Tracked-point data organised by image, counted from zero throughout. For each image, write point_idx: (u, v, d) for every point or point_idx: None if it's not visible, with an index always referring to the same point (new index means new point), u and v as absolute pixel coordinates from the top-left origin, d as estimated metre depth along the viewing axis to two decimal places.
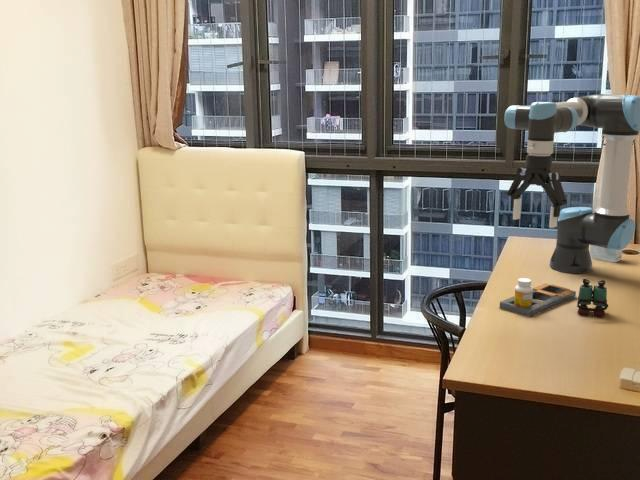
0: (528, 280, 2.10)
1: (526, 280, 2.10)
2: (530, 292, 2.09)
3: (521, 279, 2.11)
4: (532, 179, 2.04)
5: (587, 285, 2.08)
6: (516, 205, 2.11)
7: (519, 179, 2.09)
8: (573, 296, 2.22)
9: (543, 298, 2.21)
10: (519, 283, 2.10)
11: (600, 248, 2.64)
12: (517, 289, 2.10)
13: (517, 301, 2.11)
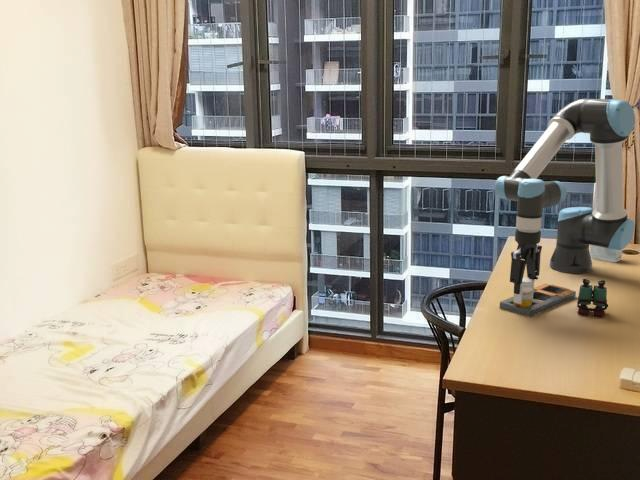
0: (528, 280, 2.10)
1: (526, 280, 2.10)
2: (530, 292, 2.09)
3: None
4: None
5: (587, 285, 2.08)
6: None
7: None
8: (573, 296, 2.22)
9: (543, 298, 2.21)
10: None
11: (600, 248, 2.64)
12: None
13: None
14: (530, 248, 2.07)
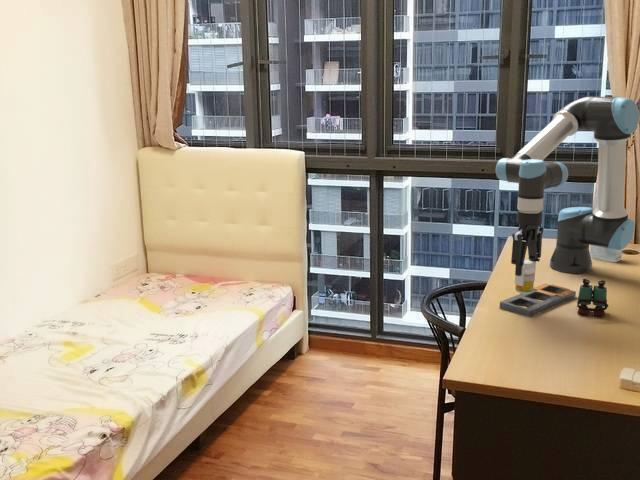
0: (530, 262, 2.09)
1: (528, 262, 2.09)
2: (532, 274, 2.08)
3: None
4: None
5: (587, 285, 2.08)
6: None
7: None
8: (573, 296, 2.22)
9: (543, 298, 2.21)
10: None
11: (600, 248, 2.64)
12: None
13: None
14: (531, 229, 2.06)
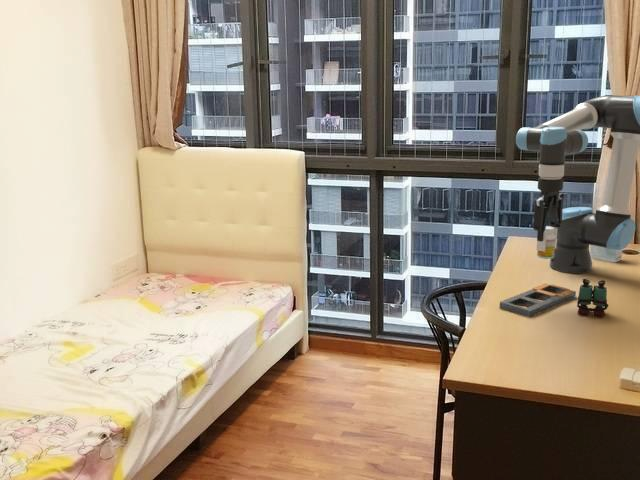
0: (551, 228, 2.13)
1: (549, 228, 2.13)
2: (553, 239, 2.13)
3: None
4: None
5: (587, 285, 2.08)
6: None
7: None
8: (573, 296, 2.22)
9: (543, 298, 2.21)
10: None
11: (600, 248, 2.64)
12: None
13: None
14: (553, 196, 2.10)
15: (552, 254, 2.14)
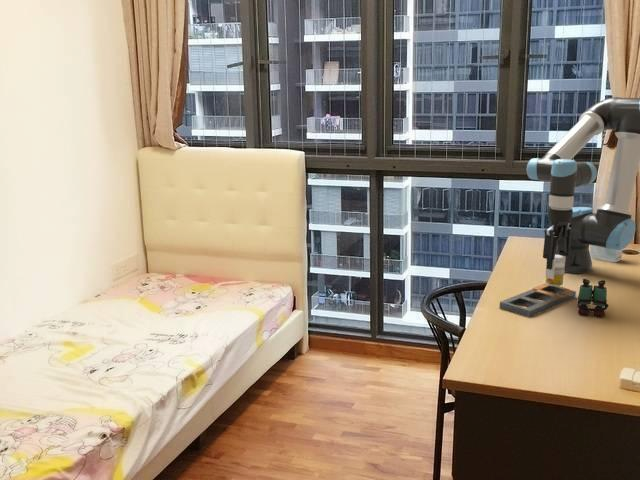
0: (560, 256, 2.20)
1: (558, 256, 2.21)
2: (562, 267, 2.20)
3: None
4: None
5: (587, 285, 2.08)
6: None
7: None
8: (573, 296, 2.22)
9: (543, 298, 2.21)
10: None
11: (600, 248, 2.64)
12: None
13: None
14: (562, 225, 2.18)
15: (560, 282, 2.21)
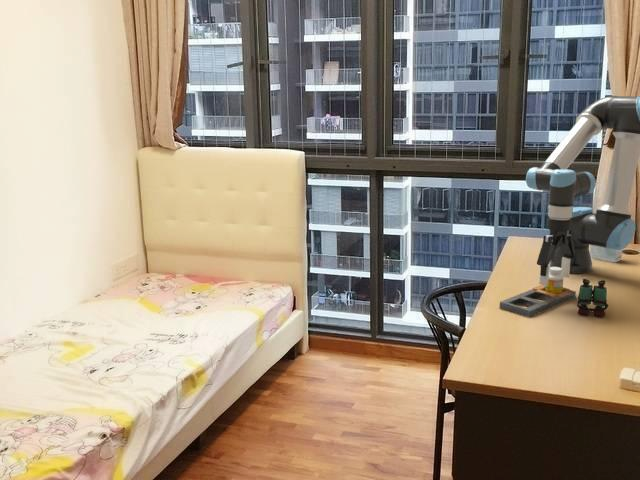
0: (559, 268, 2.22)
1: (557, 268, 2.22)
2: (561, 280, 2.21)
3: (552, 268, 2.22)
4: None
5: (587, 285, 2.08)
6: (562, 263, 2.26)
7: (566, 239, 2.24)
8: (573, 296, 2.22)
9: (543, 298, 2.21)
10: (550, 271, 2.22)
11: (600, 248, 2.64)
12: None
13: (548, 288, 2.22)
14: (561, 235, 2.18)
15: None
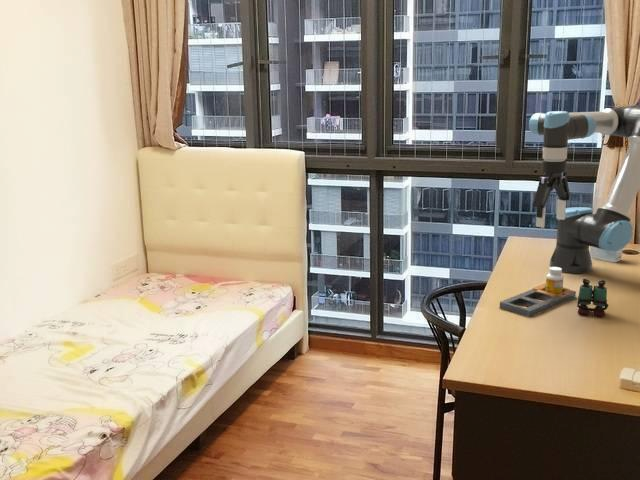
0: (559, 268, 2.22)
1: (557, 268, 2.22)
2: (561, 280, 2.21)
3: (552, 268, 2.22)
4: None
5: (587, 285, 2.08)
6: (558, 205, 2.28)
7: None
8: (573, 296, 2.22)
9: (543, 298, 2.21)
10: (550, 271, 2.22)
11: None
12: (548, 277, 2.22)
13: (548, 288, 2.22)
14: (556, 177, 2.20)
15: None
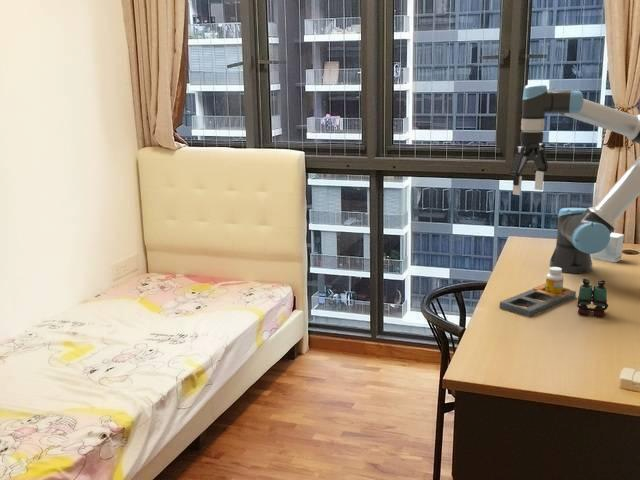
0: (559, 268, 2.22)
1: (557, 268, 2.22)
2: (561, 280, 2.21)
3: (552, 268, 2.22)
4: None
5: (587, 285, 2.08)
6: (536, 176, 2.39)
7: (539, 153, 2.36)
8: (573, 296, 2.22)
9: (543, 298, 2.21)
10: (550, 271, 2.22)
11: None
12: (548, 277, 2.22)
13: (548, 288, 2.22)
14: (534, 148, 2.31)
15: None
